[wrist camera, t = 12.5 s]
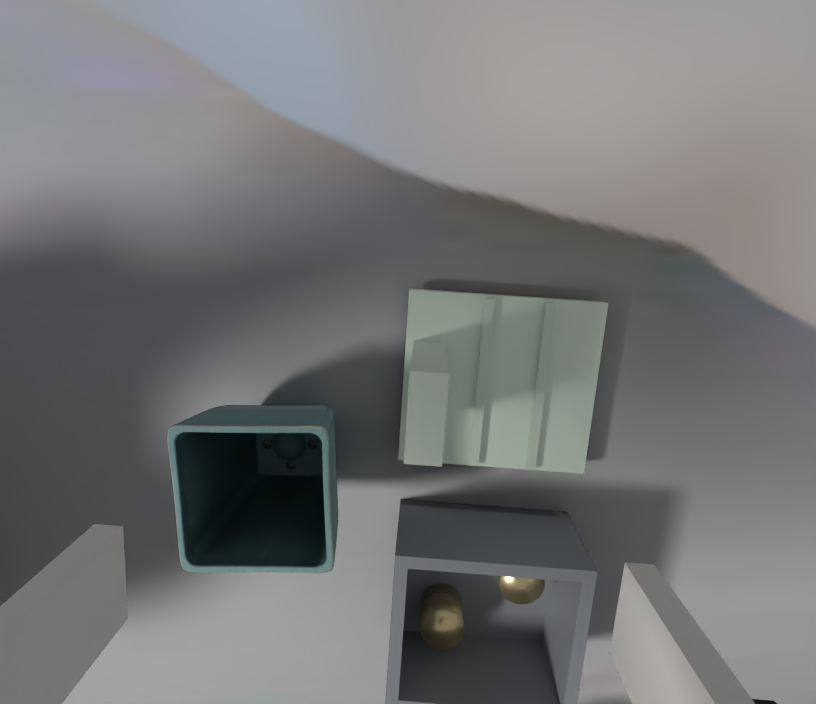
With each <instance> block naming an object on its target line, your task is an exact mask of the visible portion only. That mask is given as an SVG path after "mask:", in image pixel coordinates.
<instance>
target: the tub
mask: <svg viewBox="0 0 816 704" xmlns="http://www.w3.org/2000/svg"><path fill="white" fill-rule="evenodd" d="M597 572H598V571H597V569H596V567H595V566H594V564H593V562H592V560H591V558H590V556H589V554H588V552H587V550H586V548H585V546H584V544H583V542H582V540H581V538H580V536H579V535H578V533H577V531H576V529H575V527H574V525H573V523H572V521H571V519H570V517H569V515H568V513H567V512H560V511H547V510H534V509H520V508H507V507H494V506H481V505H468V504H455V503H442V502H428V501H415V500H402V499H401V502H400V512H399V522H398V532H397V542H396V552H395V566H394V581H393V596H392V611H391V626H390V641H389V656H388V671H387V686H386V701H385V704H577V700H578V694H579V687H580V681H581V674H582V668H583V662H584V655H585V649H586V642H587V636H588V630H589V623H590V617H591V610H592V604H593V598H594V591H595V585H596V579H597ZM497 576H507V577H519V578H532V579H544V580H545V588H544V591H543V593H542V595H541V596H540V597H539V598H538V599H537V600H535V601H534V602H532V603H529V604H515V603H512V602H510V601H508V600H507V599H506V598H505V597H504V596H503V595H502V593H501V591H500V587H499V582H498V577H497ZM439 583H443V584H448V585H451V586H453V587H454V588H455V589H456V590H457V591H458V592H459V594H460V596H461V600H462V610H463V620H464V636H463V639H462V640H461V642H460V643H459V644H458V645H456V646H455V647H453V648H450V649H445V650H440V649H435V648H433V647H431V646H429V645H428V644H427V643H426V642H425V641H424V640H423V638H422V636H421V597H422V594H423V592H424V591H425V590H426V589H427V588H428V587H430V586H432V585H434V584H439Z"/></svg>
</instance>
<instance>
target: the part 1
mask: <svg viewBox="0 0 816 704" xmlns="http://www.w3.org/2000/svg"><path fill="white" fill-rule="evenodd" d="M421 636H422V638H423V640H424V641H425V642H426V643H427V644H428V645H429V646H431V647H433V648H435V649H440V650H445V649H450V648H453V647H455V646H456V645H458V644H459V643H460V642H461V640H462V639H463V636H464V620H463V610H462V600H461V596H460V594H459V592H458V591H457V590H456V589H455V588H454V587H453V586H451V585H448V584H443V583H439V584H434V585H432V586H430V587H428V588H427V589H426V590H425V591H424V592H423V594H422V597H421Z"/></svg>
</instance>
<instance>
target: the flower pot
mask: <svg viewBox="0 0 816 704" xmlns="http://www.w3.org/2000/svg"><path fill="white" fill-rule="evenodd" d="M266 440H268V441H270V442H271V446H270V447H266V446H264V441H266ZM310 441H315V443H316V446H315V447H311V446H310V445H309V442H310ZM167 444H168V451H169V460H170V468H171V475H172V484H173V494H174V502H175V515H176V525H177V533H178V535H177V537H178V548H179V558H180V562H181V565H182V567H183V569H184V570H185V571H187V572H197V573H198V572H298V573H299V572H302V573H325V572H328V571H331V570H332V569H333V567H334V559H335V549H336V539H337V527H338V497H337V474H336V446H335V415H334V411H333V410H332V408H330V407H329V406H325V405H225V406H219V407H215V408H212V409H209V410H207V411H204V412H202V413H200V414H197V415H195V416H193V417H191V418H189V419H186V420H184V421H182V422H180V423H178V424H175V425H173V426H171V427H170V428H169V429H168V433H167ZM288 462H293V463H294V465H295V466H294V467H293V468H289V467H288V465H287V464H288Z"/></svg>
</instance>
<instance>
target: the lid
mask: <svg viewBox="0 0 816 704" xmlns="http://www.w3.org/2000/svg"><path fill="white" fill-rule="evenodd" d="M608 304H609V303H607V302H602V301H588V300H573V299H558V298H543V297H529V296H514V295H499V294H485V293H470V292H455V291H441V290H426V289H411V288H410V289H409V300H408V316H407V331H406V347H405V362H404V377H403V393H402V408H401V424H400V439H399V454H398V460H404V464H411V465H424V466H438V467H442V463H445V464H459V465H469V466H485V467H499V468H512V469H526V470H539V471H552V472H566V473H579V474H584V470H585V463H586V456H587V449H588V442H589V435H590V428H591V422H592V415H593V408H594V401H595V394H596V387H597V380H598V373H599V366H600V359H601V352H602V345H603V338H604V331H605V324H606V318H607V311H608Z"/></svg>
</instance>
